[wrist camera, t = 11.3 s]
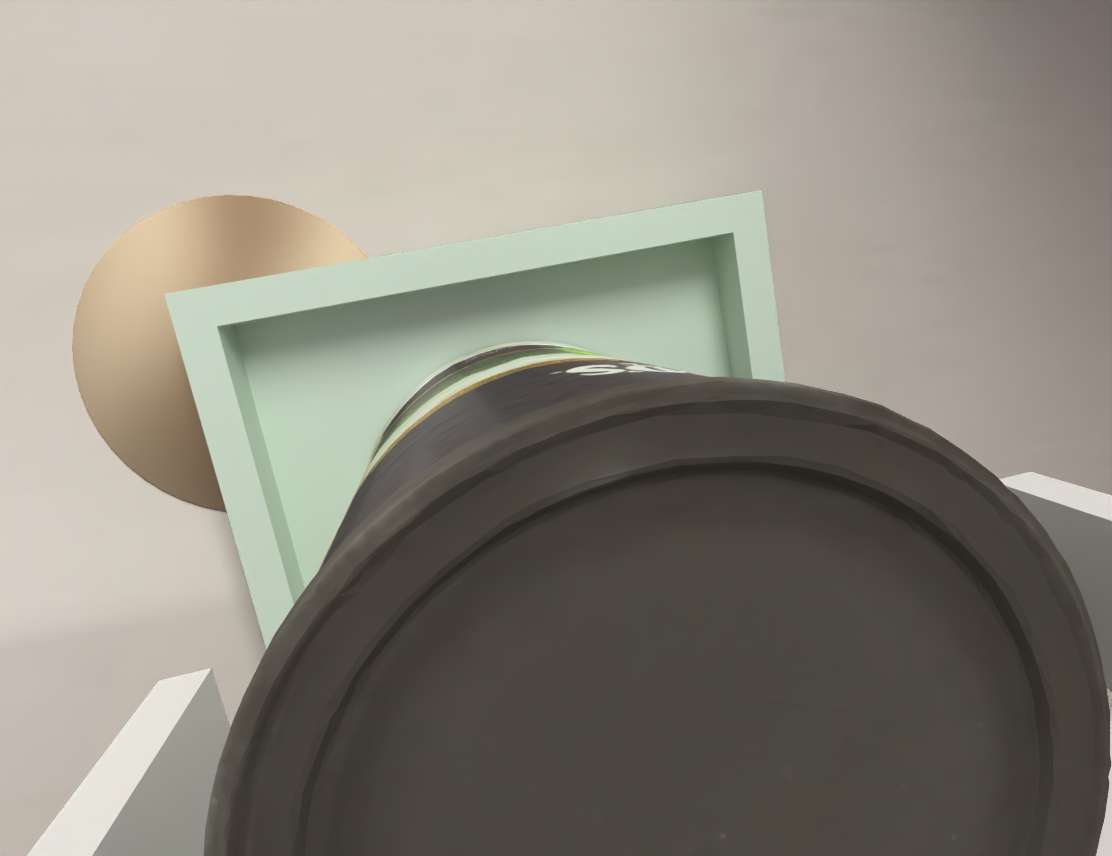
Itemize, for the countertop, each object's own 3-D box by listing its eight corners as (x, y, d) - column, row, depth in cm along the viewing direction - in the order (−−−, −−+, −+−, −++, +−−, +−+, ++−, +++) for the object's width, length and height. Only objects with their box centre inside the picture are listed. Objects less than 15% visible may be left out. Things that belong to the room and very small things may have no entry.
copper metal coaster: (371, 175, 20) (370, 171, 19) (438, 472, 22) (438, 475, 21) (37, 227, 19) (26, 224, 18) (134, 538, 20) (127, 544, 20)
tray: (730, 202, 21) (761, 189, 19) (791, 666, 24) (824, 698, 22) (192, 296, 19) (163, 293, 17) (332, 795, 22) (322, 844, 20)
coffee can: (470, 270, 20) (559, 159, 6) (748, 447, 22) (1268, 657, 8) (290, 574, 20) (-13, 1121, 6) (581, 715, 22) (815, 1335, 9)
